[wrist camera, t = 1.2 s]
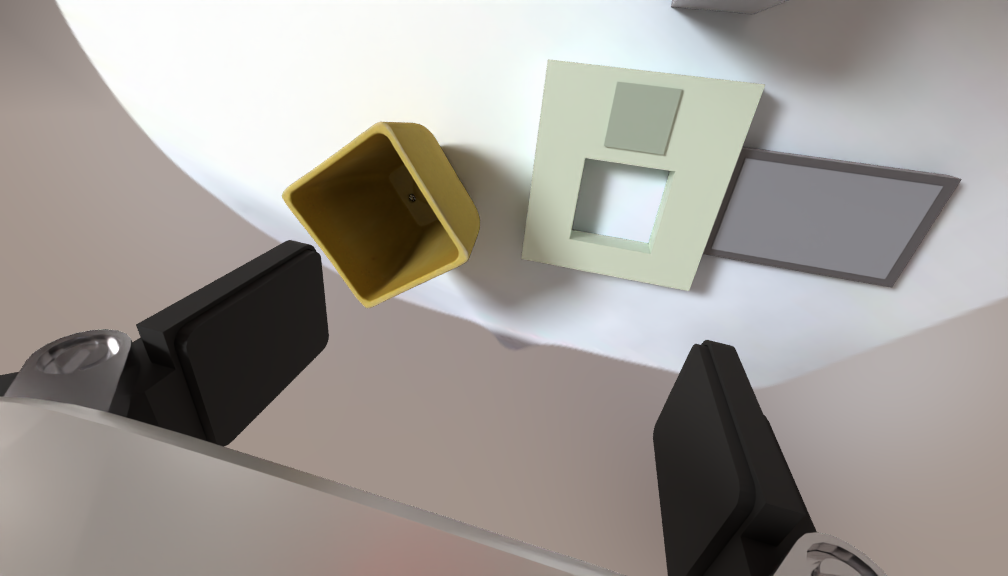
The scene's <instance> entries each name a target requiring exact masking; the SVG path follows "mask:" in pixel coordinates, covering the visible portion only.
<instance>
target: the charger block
mask: <svg viewBox="0 0 1008 576" xmlns="http://www.w3.org/2000/svg"><path fill="white" fill-rule="evenodd" d="M785 1H788V0H672V4H671V7H679V8H690V9H701V10H712V11H723V12H734V13H745V14H755V13H757V12H760V11H762V10H765V9H768V8H770V7H773V6H775V5H778V4H780V3H783V2H785Z"/></svg>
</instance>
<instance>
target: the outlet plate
mask: <svg viewBox="0 0 1008 576" xmlns="http://www.w3.org/2000/svg"><path fill="white" fill-rule="evenodd" d="M764 87H765V84H756V83H747V82H739V81H730V80H721V79H713V78H704V77H695V76H687V75H678V74H669V73H661V72H652V71H643V70H635V69H626V68H617V67H609V66H600V65H591V64H582V63H574V62H565V61H556V60H548V63H547V70H546V78H545V85H544V92H543V100H542V107H541V115H540V122H539V130H538V137H537V145H536V152H535V160H534V167H533V175H532V182H531V189H530V197H529V204H528V212H527V219H526V227H525V234H524V242H523V249H522V257H521V259H524V260H529V261H535V262H540V263H545V264H550V265H555V266H561V267H566V268H571V269H576V270H581V271H587V272H592V273H597V274H602V275H608V276H613V277H618V278H623V279H628V280H634V281H639V282H644V283H649V284H654V285H660V286H665V287H670V288H675V289H681V290H686V291H689V289H690V287H691V284H692V281H693V279H694V276H695V273H696V271H697V268H698V265H699V262H700V260H701V257H702V254H703V252H704V249H705V246H706V244H707V241H708V238H709V235H710V233H711V230H712V227H713V225H714V222H715V219H716V216H717V214H718V211H719V208H720V206H721V203H722V200H723V198H724V195H725V192H726V189H727V187H728V184H729V181H730V179H731V176H732V173H733V171H734V168H735V165H736V162H737V160H738V157H739V154H740V152H741V149H742V146H743V143H744V141H745V138H746V135H747V133H748V130H749V127H750V125H751V122H752V119H753V116H754V114H755V111H756V108H757V106H758V103H759V100H760V98H761V95H762V92H763V89H764ZM585 158H588V159H595V160H602V161H608V162H615V163H622V164H628V165H635V166H642V167H648V168H655V169H662V170H668V171H670V172H669V176H668V179H667V182H666V186H665V189H664V192H663V196H662V199H661V203H660V206H659V209H658V213H657V216H656V220H655V223H654V226H653V230H652V233H651V237H650V240H649V243H644V242H638V241H632V240H627V239H621V238H616V237H610V236H604V235H599V234H593V233H587V232H582V231H576V230H572V226H573V221H574V215H575V210H576V205H577V200H578V195H579V190H580V184H581V179H582V174H583V169H584V164H585Z"/></svg>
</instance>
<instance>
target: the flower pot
mask: <svg viewBox="0 0 1008 576" xmlns="http://www.w3.org/2000/svg"><path fill="white" fill-rule="evenodd" d="M410 194H413V195H414V196H415V198H416V199H415V201H411V200H410V199H409V196H410ZM282 198H283V200H284V202H285V203H286V205H287V206H288V207H289V209H290V210H291V211H292V213H293V214H294V215H295V216H296V218H297V219H298V220H299V222H300V223H301V224H302V225H303V226H304V228H305V229H306V230H307V232H308V233H309V234H310V236H311V237H312V238H313V239H314V241H315V242H316V243H317V244H318V246H319V247H320V248H321V249H322V251H323V252H324V253H325V255H326V256H327V258H328V259H329V260H330V262H331V263H332V264H333V266H334V267H335V268H336V270H337V271H338V273H339V274H340V276H341V277H342V279H343V280H344V281H345V283H346V284H347V286H348V287H349V288H350V290H351V291H352V292H353V294H354V295H355V297H356V298H357V299H358V300H359V301H360V302H361V303H362V304H363V305H364V306H365V307H366V308H371V307H374V306H376V305H378V304H380V303H382V302H384V301H386V300H388V299H390V298H392V297H394V296H396V295H399V294H401V293H403V292H405V291H407V290H409V289H411V288H413V287H415V286H418V285H420V284H422V283H424V282H426V281H428V280H430V279H432V278H435V277H437V276H439V275H442V274H443V273H446V272H448V271H450V270H452V269H454V268H456V267H459V266H460V265H462V264H464V263H466V262H467V261H468V259H469V257H470V254H471V252H472V249H473V246H474V244H475V241H476V238H477V236H478V233H479V229H480V218H479V214H478V211H477V209H476V207H475V205H474V203H473V201H472V200H471V198H470V196H469V195H468V193H467V191H466V190H465V188H464V186H463V185H462V183H461V181H460V180H459V178H458V176H457V175H456V173H455V171H454V169H453V168H452V166H451V164H450V163H449V161H448V159H447V157H446V156H445V154H444V152H443V151H442V149H441V147H440V145H439V143H438V142H437V140H436V139H435V137H434V136H433V134H432V133H431V132H430V131H429V130H428V129H427V128H426V127H424V126H422V125H420V124H416V123H401V122H378V123H376V124H374V125H373V126H371V127H370V128H369V129H367V130H366V131H365V132H363V133H362V134H360V135H359V136H358V137H356V138H355V139H354V140H353V141H351V142H350V143H349V144H347V145H346V146H345V147H343V148H342V149H340V150H339V151H338V152H336V153H335V154H334V155H332V156H331V157H330V158H328V159H327V160H325V161H324V162H323V163H321V164H320V165H319V166H317V167H316V168H314V169H313V170H312V171H310V172H309V173H307V174H306V175H304V176H303V177H301V178H300V179H298V180H297V181H296V182H294V183H293V184H291V185H290V186H289V187H288V188H286V189H285V191H284V192H283V194H282Z"/></svg>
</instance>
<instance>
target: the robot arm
mask: <svg viewBox="0 0 1008 576" xmlns="http://www.w3.org/2000/svg"><path fill="white" fill-rule="evenodd" d="M136 326H137V328H138V331H139V334H140V336H141V338H139V339H137V340H136V341H134V342H132V340H131V338H130V337H129V336H128V335H127V334H126V333H123V332H121V331H118V330H108V329H103V330H90V331H85V332H79V333H75V334H72V335H69V336H66V337H62V338H60V339H57V340H55V341H53V342H51V343H48V344H46V345H45V346H43V347H41V348H40V349H38V350H37V351H35V352H34V353H33V354H32V355H31V356H30V357H29V358H28V359H27V360H26V362H25V363H24V365H23V366H22V368H21V370H20V371H19V372H15V373H10V374H5V375H0V576H626V575H623V574H620V573H617V572H614V571H611V570H608V569H605V568H602V567H600V566H597V565H594V564H591V563H588V562H585V561H582V560H579V559H576V558H573V557H570V556H566V555H563V554H560V553H557V552H554V551H551V550H548V549H545V548H542V547H538V546H535V545H532V544H529V543H526V542H523V541H520V540H517V539H514V538H511V537H507V536H504V535H501V534H498V533H495V532H492V531H489V530H486V529H483V528H480V527H477V526H473V525H470V524H467V523H464V522H461V521H458V520H455V519H452V518H449V517H446V516H442V515H439V514H436V513H433V512H429V511H427V510H423V509H420V508H417V507H414V506H411V505H408V504H405V503H401V502H398V501H395V500H392V499H389V498H386V497H382V496H379V495H376V494H373V493H370V492H367V491H364V490H360V489H357V488H354V487H351V486H348V485H345V484H341V483H338V482H335V481H332V480H329V479H326V478H322V477H319V476H316V475H313V474H310V473H307V472H303V471H300V470H297V469H294V468H291V467H287V466H284V465H281V464H278V463H274V462H271V461H268V460H265V459H261V458H258V457H255V456H252V455H249V454H246V453H242V452H239V451H236V450H233V449H229V448H226V447H224V446H226V445H228V444H229V443H231V442H232V441H233V440H234V439H235V438H236V437H237V436H238V435H239V434H240V433H241V432H242V431H243V430H244V429H245V428H246V427H247V426H248V425H249V424H250V423H251V422H252V421H253V420H254V419H255V418H256V417H257V416H258V415H259V413H261V412H262V411H263V410H264V409H265V408H266V407H267V406H268V405H269V404H270V403H271V402H272V401H273V400H274V399H275V398H276V397H277V396H278V395H279V394H280V393H281V392H282V390H284V389H285V388H286V387H287V386H288V385H289V384H290V383H291V382H292V381H293V380H294V379H295V378H296V377H297V375H299V374H300V372H301V371H303V370H304V369H305V368H306V366H307V365H309V364H310V362H312V361H313V360H314V358H316V357H317V356H318V354H320V353H321V351H323V349H324V348H325V347H326V345H327V342H328V338H329V334H328V323H327V314H326V303H325V293H324V283H323V273H322V263H321V256H320V254H319V253H318V252H316V250H315V248H314V247H313V246H312V245H309V244H305V243H301V242H296V241H292V240H288V241H286V242H284V243H282V244H280V245H278V246H277V247H275V248H273V249H271V250H269V251H268V252H266V253H264V254H262V255H260V256H259V257H257V258H255V259H253V260H251V261H250V262H248V263H246V264H244V265H243V266H241V267H239V268H237V269H235V270H233V271H232V272H230V273H228V274H226V275H225V276H223V277H221V278H219V279H217V280H215V281H214V282H212V283H210V284H208V285H206V286H205V287H203V288H201V289H199V290H198V291H196V292H194V293H192V294H190V295H189V296H187V297H185V298H183V299H182V300H180V301H178V302H176V303H174V304H172V305H171V306H169V307H167V308H165V309H164V310H162V311H160V312H158V313H156V314H155V315H153V316H151V317H149V318H147V319H145V320H144V321H142V322H140V323H138V324H136ZM653 442H654V451H655V461H656V470H657V479H658V488H659V498H660V507H661V516H662V524H663V534H664V544H665V553H666V562H667V570H668V576H887V575H886V573H885V572H884V571H883V570H882V569H881V568H880V567H879V566H878V565H877V564H876V563H874V562H873V561H872V560H871V559H870V558H869V557H868V556H866V555H865V554H864V553H863V552H861V551H860V550H858V549H856V548H855V547H853V546H852V545H851V544H849V543H847V542H845V541H843V540H841V539H839V538H837V537H834V536H832V535H828V534H823V533H819V532H816V529H815V527H814V525H813V523H812V520H811V518H810V516H809V513H808V511H807V508H806V506H805V504H804V502H803V499H802V497H801V495H800V492H799V490H798V488H797V486H796V483H795V481H794V479H793V476H792V474H791V472H790V469H789V467H788V465H787V462H786V460H785V458H784V456H783V453H782V451H781V449H780V446H779V444H778V442H777V440H776V437H775V435H774V433H773V430H772V428H771V426H770V423H769V421H768V420H767V418H766V416H765V415H763V413H762V410H761V408H760V406H759V403H758V401H757V399H756V396H755V394H754V392H753V389H752V387H751V384H750V382H749V380H748V377H747V375H746V373H745V370H744V368H743V366H742V363H741V361H740V359H739V356H738V354H737V352H736V349H735V348H734V347H733V346H730V345H726V344H722V343H718V342H714V341H709V340H705V341H704V342H703V343H702V344H701V345H699V344H694V345H693V347H692V348H691V350H690V352H689V354H688V357H687V359H686V361H685V363H684V365H683V367H682V369H681V371H680V373H679V376H678V378H677V380H676V382H675V384H674V386H673V388H672V390H671V392H670V395H669V397H668V399H667V401H666V403H665V405H664V407H663V410H662V411H661V414H660V416H659V418H658V420H657V422H656V424H655V428H654V433H653Z"/></svg>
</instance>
